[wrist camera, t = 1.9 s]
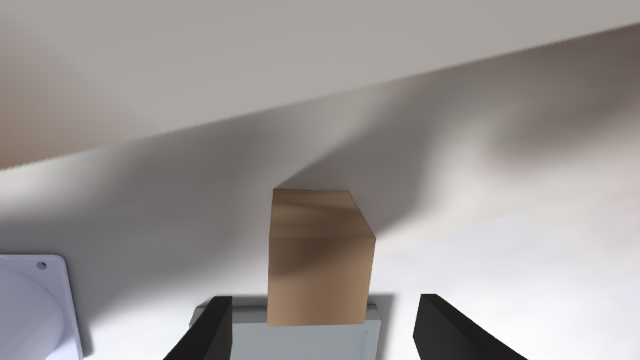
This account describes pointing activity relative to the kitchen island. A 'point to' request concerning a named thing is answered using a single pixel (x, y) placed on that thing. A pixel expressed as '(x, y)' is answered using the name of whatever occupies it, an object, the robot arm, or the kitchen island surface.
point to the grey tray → (300, 337)
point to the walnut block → (318, 259)
